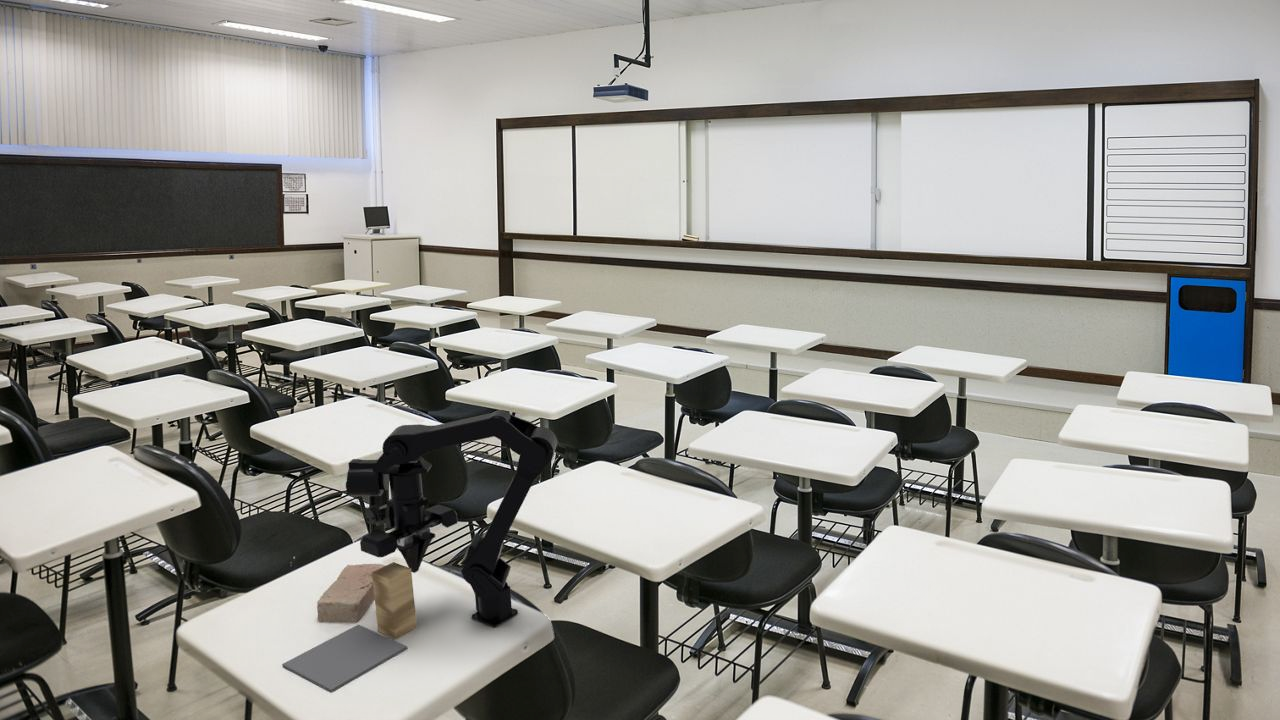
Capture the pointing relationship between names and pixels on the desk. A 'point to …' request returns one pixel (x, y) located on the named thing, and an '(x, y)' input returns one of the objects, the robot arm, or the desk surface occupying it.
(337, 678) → the mat
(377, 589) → the oak block
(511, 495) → the robot arm
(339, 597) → the brick
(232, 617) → the desk surface
